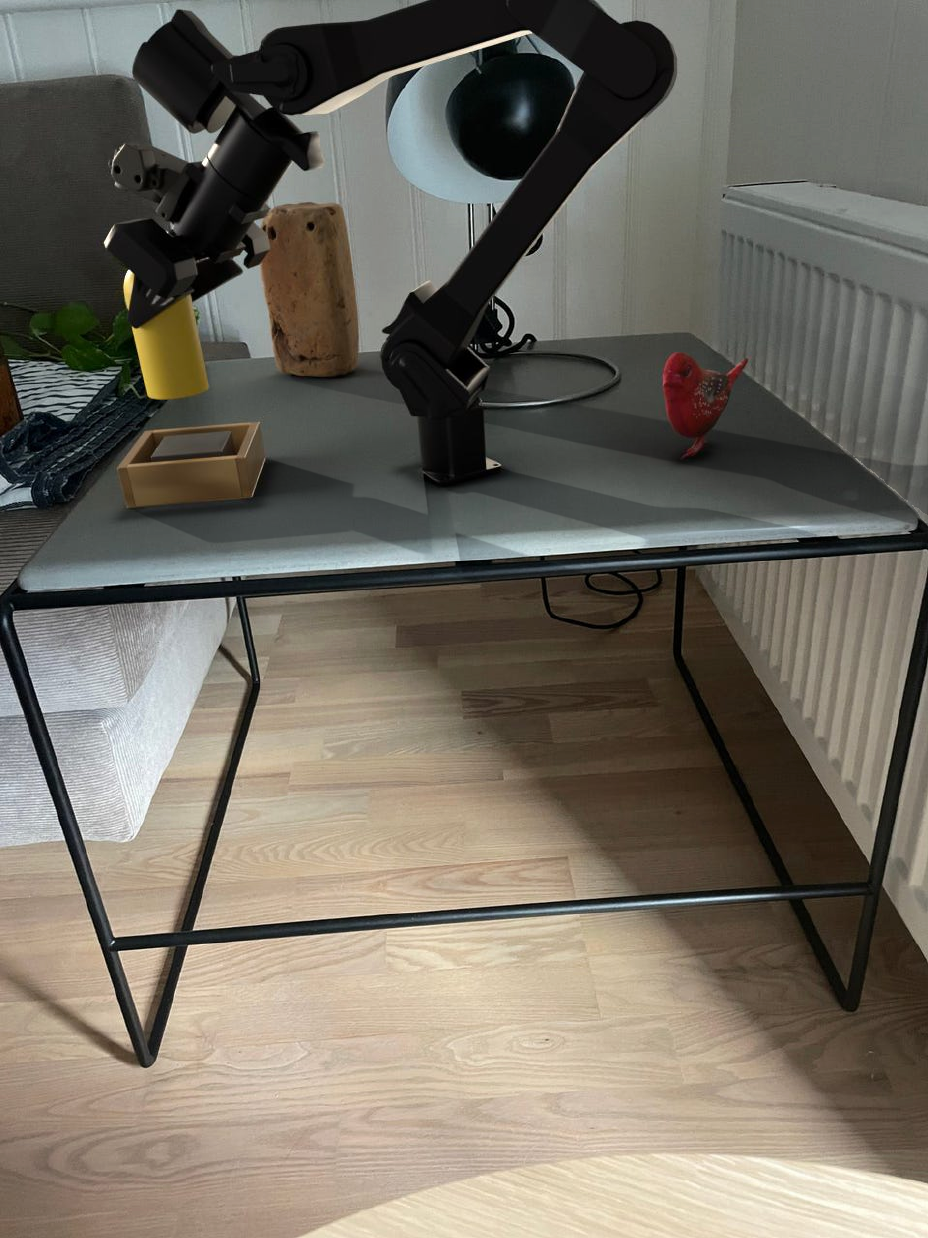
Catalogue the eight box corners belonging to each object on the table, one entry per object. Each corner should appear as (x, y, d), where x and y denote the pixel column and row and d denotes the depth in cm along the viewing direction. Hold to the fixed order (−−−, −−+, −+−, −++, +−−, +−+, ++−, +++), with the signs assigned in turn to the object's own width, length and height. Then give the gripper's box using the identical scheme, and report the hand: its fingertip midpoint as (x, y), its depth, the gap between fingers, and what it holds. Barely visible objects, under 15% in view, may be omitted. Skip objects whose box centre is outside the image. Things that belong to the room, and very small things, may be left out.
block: (368, 365, 124) (350, 199, 114) (349, 380, 117) (328, 205, 108) (291, 365, 126) (267, 203, 117) (268, 380, 120) (241, 209, 110)
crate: (266, 465, 90) (259, 421, 88) (253, 505, 81) (244, 457, 79) (155, 474, 90) (144, 430, 87) (128, 516, 80) (116, 467, 78)
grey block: (238, 467, 87) (231, 430, 86) (228, 489, 82) (221, 451, 80) (172, 472, 87) (164, 435, 86) (159, 495, 82) (150, 456, 80)
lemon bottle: (221, 384, 89) (192, 236, 83) (184, 400, 85) (152, 245, 78) (172, 382, 91) (141, 237, 85) (135, 398, 87) (99, 246, 80)
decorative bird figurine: (644, 474, 81) (648, 357, 77) (728, 419, 93) (736, 315, 89) (675, 479, 80) (680, 360, 75) (757, 423, 92) (766, 317, 87)
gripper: (214, 101, 84) (134, 239, 92) (95, 103, 68) (10, 270, 76) (310, 193, 86) (222, 321, 94) (215, 215, 70) (120, 367, 78)
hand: (149, 317), depth 85 cm, fingers closed on lemon bottle, 5 cm apart
